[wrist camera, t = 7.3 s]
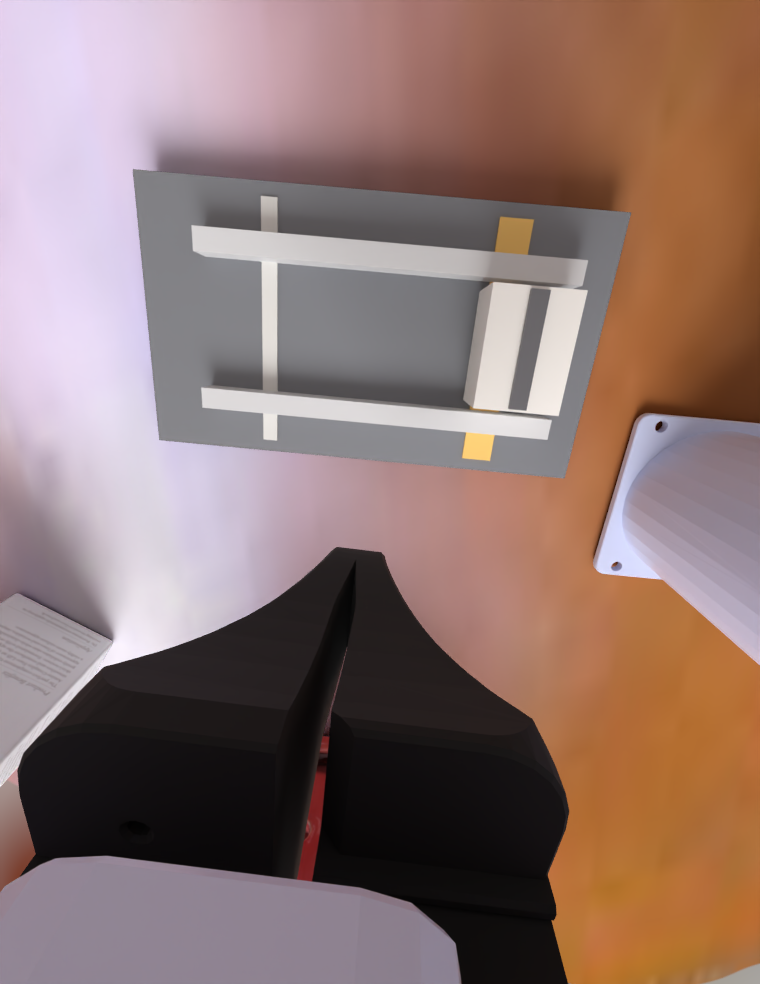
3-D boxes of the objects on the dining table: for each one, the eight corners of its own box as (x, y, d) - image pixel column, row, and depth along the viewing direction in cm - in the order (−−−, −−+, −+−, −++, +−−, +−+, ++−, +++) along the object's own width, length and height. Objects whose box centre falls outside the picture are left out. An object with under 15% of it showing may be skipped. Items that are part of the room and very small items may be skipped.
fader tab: (559, 298, 15) (590, 289, 13) (536, 406, 17) (560, 417, 14) (479, 291, 15) (494, 281, 13) (463, 399, 17) (473, 408, 14)
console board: (610, 224, 16) (647, 203, 14) (552, 468, 19) (573, 485, 17) (155, 184, 16) (114, 157, 14) (176, 433, 20) (146, 445, 17)
